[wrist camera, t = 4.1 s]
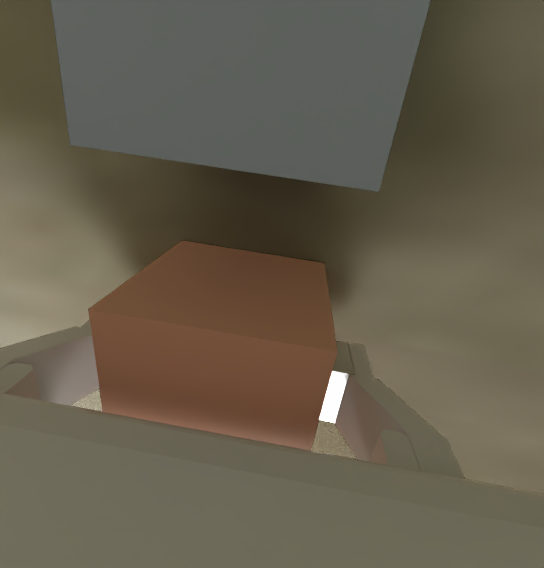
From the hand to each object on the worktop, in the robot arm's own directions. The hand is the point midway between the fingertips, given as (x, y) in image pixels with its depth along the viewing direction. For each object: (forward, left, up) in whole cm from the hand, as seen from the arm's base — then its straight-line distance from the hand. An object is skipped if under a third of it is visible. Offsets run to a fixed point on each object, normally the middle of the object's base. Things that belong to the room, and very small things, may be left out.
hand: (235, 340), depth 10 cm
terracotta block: (0, 0, -2) cm, 2 cm away
